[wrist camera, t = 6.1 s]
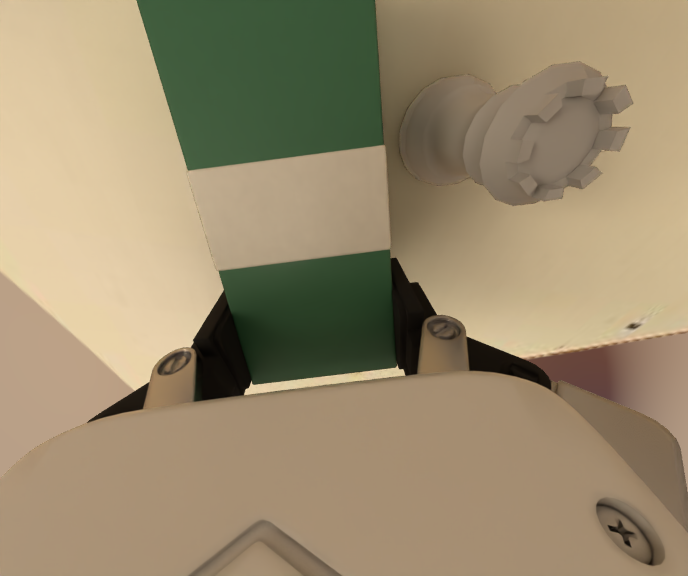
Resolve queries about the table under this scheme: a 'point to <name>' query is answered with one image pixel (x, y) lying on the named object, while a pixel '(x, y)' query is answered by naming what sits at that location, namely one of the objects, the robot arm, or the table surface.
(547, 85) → the rook chess piece
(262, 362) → the block
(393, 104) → the table surface
